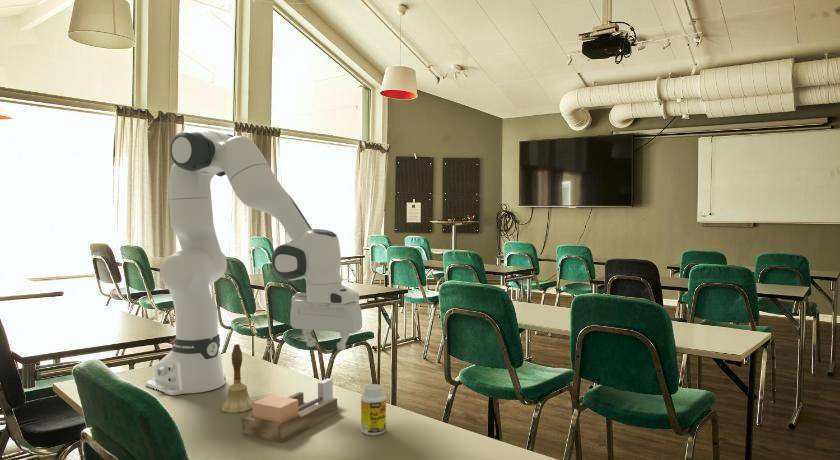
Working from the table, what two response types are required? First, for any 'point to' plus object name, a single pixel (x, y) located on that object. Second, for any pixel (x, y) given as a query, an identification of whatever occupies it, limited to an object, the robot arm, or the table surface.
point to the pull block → (289, 404)
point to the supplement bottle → (373, 410)
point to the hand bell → (237, 388)
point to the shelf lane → (290, 421)
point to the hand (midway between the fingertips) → (326, 347)
